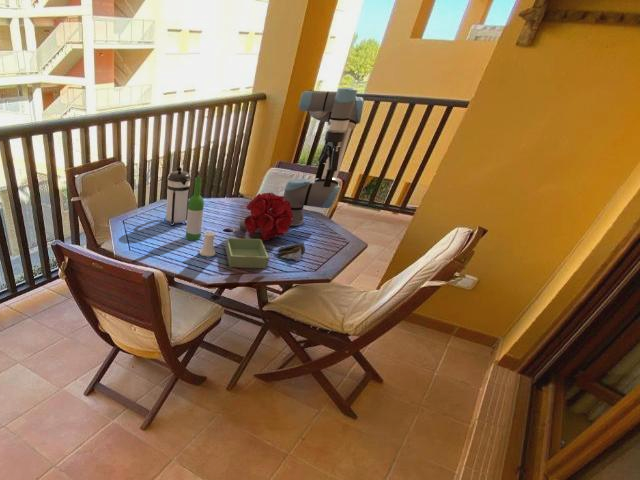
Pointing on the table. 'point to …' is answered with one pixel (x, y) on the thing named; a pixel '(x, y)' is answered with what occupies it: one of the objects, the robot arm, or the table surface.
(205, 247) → the salt shaker
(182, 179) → the coffee press
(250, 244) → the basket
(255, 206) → the bouquet
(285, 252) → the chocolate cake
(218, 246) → the table surface
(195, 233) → the wine bottle
